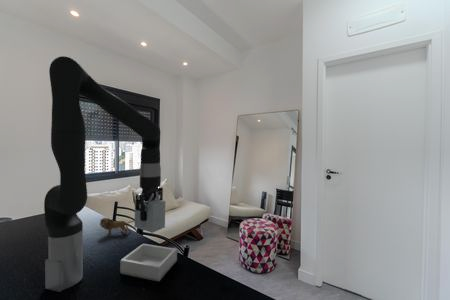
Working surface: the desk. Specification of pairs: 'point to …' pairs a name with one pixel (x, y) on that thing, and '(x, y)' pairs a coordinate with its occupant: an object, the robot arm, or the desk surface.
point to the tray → (148, 262)
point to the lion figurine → (113, 225)
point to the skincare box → (151, 216)
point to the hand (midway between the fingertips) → (150, 217)
